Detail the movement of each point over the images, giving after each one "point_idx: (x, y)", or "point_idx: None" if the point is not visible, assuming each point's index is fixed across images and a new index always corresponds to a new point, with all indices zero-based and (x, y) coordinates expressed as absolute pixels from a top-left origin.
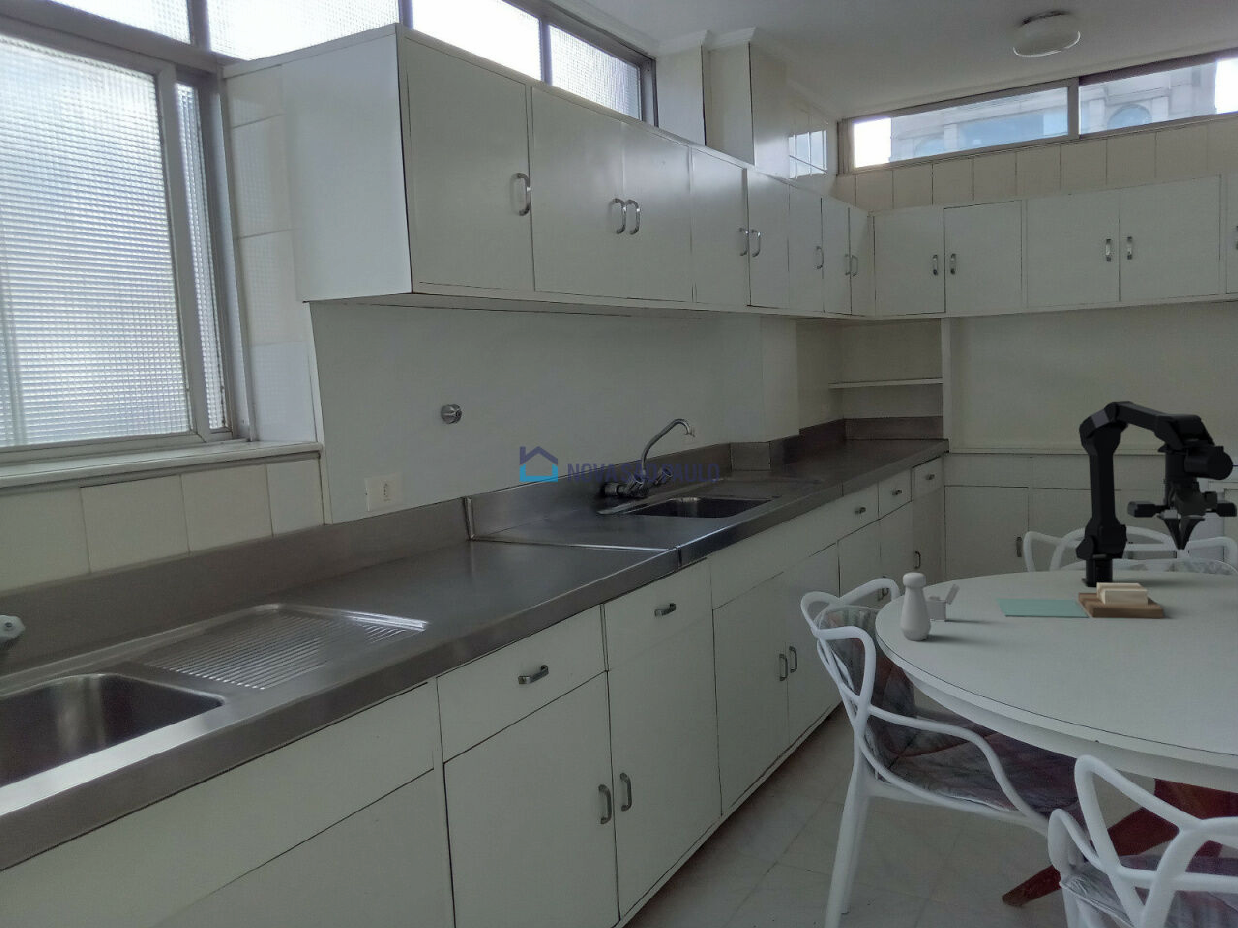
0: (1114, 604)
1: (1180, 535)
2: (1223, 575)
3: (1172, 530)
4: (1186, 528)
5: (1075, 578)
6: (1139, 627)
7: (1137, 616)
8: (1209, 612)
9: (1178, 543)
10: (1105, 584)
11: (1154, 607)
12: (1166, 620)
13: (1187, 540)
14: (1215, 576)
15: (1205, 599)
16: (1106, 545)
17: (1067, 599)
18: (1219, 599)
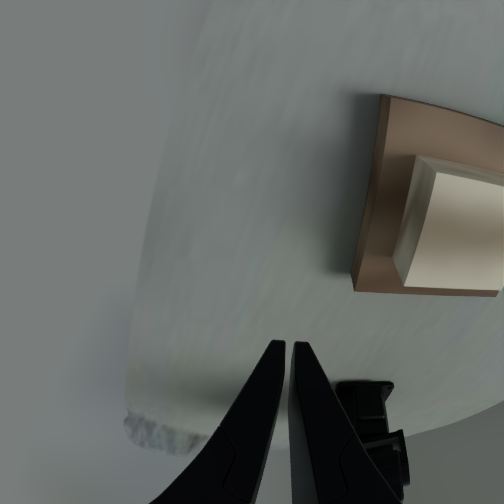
0: (495, 172)
1: (268, 448)
2: (130, 409)
3: (376, 472)
4: (251, 489)
5: None
6: (473, 16)
7: (450, 109)
8: (210, 167)
9: (313, 375)
10: (496, 270)
11: (410, 119)
12: (378, 71)
13: (247, 388)
14: (141, 409)
15: (183, 295)
16: (379, 463)
17: (502, 288)
18: (153, 293)
